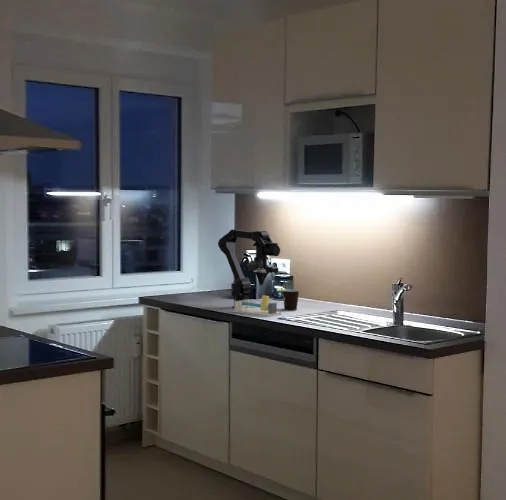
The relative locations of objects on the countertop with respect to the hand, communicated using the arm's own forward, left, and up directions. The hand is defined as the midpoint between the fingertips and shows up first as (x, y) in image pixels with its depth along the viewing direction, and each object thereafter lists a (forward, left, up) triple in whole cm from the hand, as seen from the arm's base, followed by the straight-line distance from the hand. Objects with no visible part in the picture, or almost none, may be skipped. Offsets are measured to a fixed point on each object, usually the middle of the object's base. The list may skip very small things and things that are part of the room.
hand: (261, 285), depth 417 cm
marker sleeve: (+10, -9, -11) cm, 18 cm away
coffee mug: (+9, +14, -13) cm, 21 cm away
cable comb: (+5, -9, -13) cm, 17 cm away
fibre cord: (+5, -9, -13) cm, 17 cm away
